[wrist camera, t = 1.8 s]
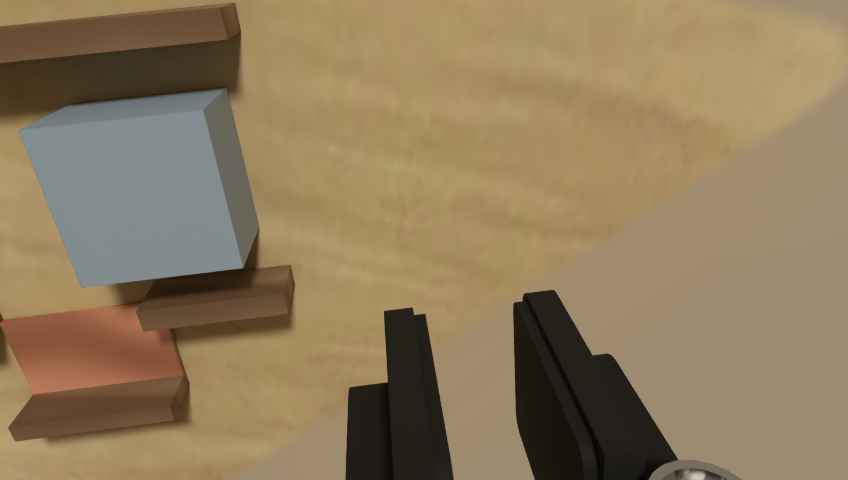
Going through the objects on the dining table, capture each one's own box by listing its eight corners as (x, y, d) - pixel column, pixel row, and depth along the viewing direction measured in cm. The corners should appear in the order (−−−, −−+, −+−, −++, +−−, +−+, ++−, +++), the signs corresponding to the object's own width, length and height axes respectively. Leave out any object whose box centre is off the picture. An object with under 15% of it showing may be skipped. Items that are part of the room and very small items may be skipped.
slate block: (260, 224, 26) (243, 267, 22) (120, 241, 26) (81, 287, 22) (227, 86, 23) (203, 110, 20) (72, 103, 23) (18, 130, 19)
